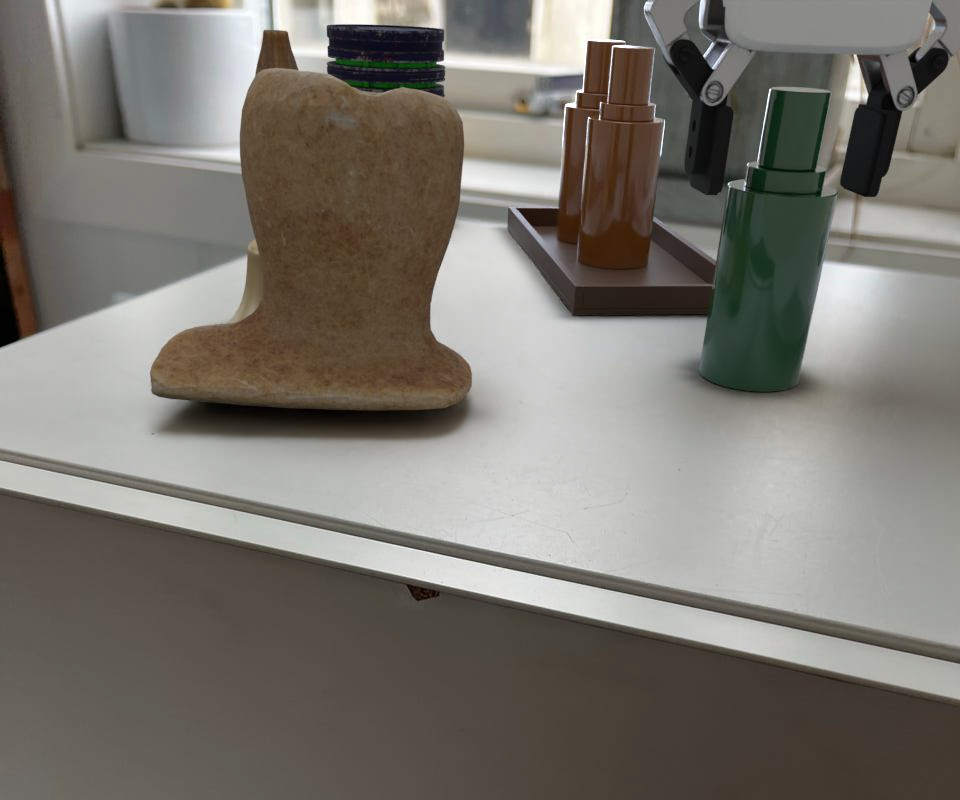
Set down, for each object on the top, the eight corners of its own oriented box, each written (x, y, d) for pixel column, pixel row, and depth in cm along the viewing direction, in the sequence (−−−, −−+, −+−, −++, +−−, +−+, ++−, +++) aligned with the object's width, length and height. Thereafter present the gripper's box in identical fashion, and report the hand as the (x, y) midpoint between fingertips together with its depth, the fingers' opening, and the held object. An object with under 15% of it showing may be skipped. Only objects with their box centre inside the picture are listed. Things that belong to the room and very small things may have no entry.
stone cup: (474, 363, 58) (483, 65, 50) (468, 442, 48) (478, 85, 40) (211, 353, 58) (177, 52, 50) (151, 430, 48) (96, 70, 40)
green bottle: (776, 359, 61) (829, 85, 53) (814, 391, 56) (879, 96, 48) (686, 360, 60) (727, 82, 52) (718, 392, 55) (768, 93, 47)
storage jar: (452, 214, 94) (455, 28, 86) (432, 236, 86) (434, 32, 78) (348, 207, 95) (342, 23, 87) (319, 228, 87) (309, 27, 79)
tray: (639, 230, 91) (642, 207, 90) (747, 314, 69) (752, 285, 68) (507, 229, 90) (508, 206, 89) (573, 315, 67) (575, 286, 66)
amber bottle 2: (636, 252, 82) (660, 45, 74) (656, 269, 77) (684, 50, 69) (569, 252, 81) (585, 43, 73) (585, 269, 76) (604, 48, 68)
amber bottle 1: (612, 231, 88) (631, 39, 80) (629, 246, 84) (651, 43, 76) (550, 231, 88) (563, 37, 80) (563, 246, 83) (578, 41, 75)
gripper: (1001, -225, 47) (902, 181, 57) (642, -251, 45) (602, 177, 55) (1105, -254, 41) (974, 207, 51) (695, -287, 39) (640, 203, 48)
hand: (782, 189), depth 53 cm, fingers open, 7 cm apart
